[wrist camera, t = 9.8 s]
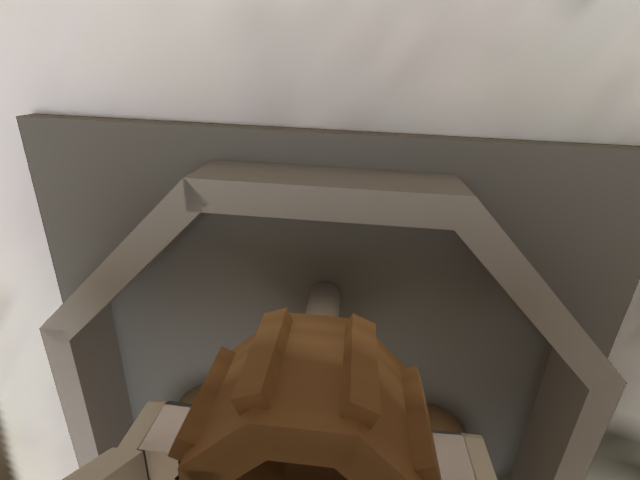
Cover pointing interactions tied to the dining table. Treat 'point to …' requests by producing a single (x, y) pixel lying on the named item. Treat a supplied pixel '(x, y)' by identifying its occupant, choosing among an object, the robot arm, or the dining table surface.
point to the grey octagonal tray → (341, 268)
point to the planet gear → (308, 408)
